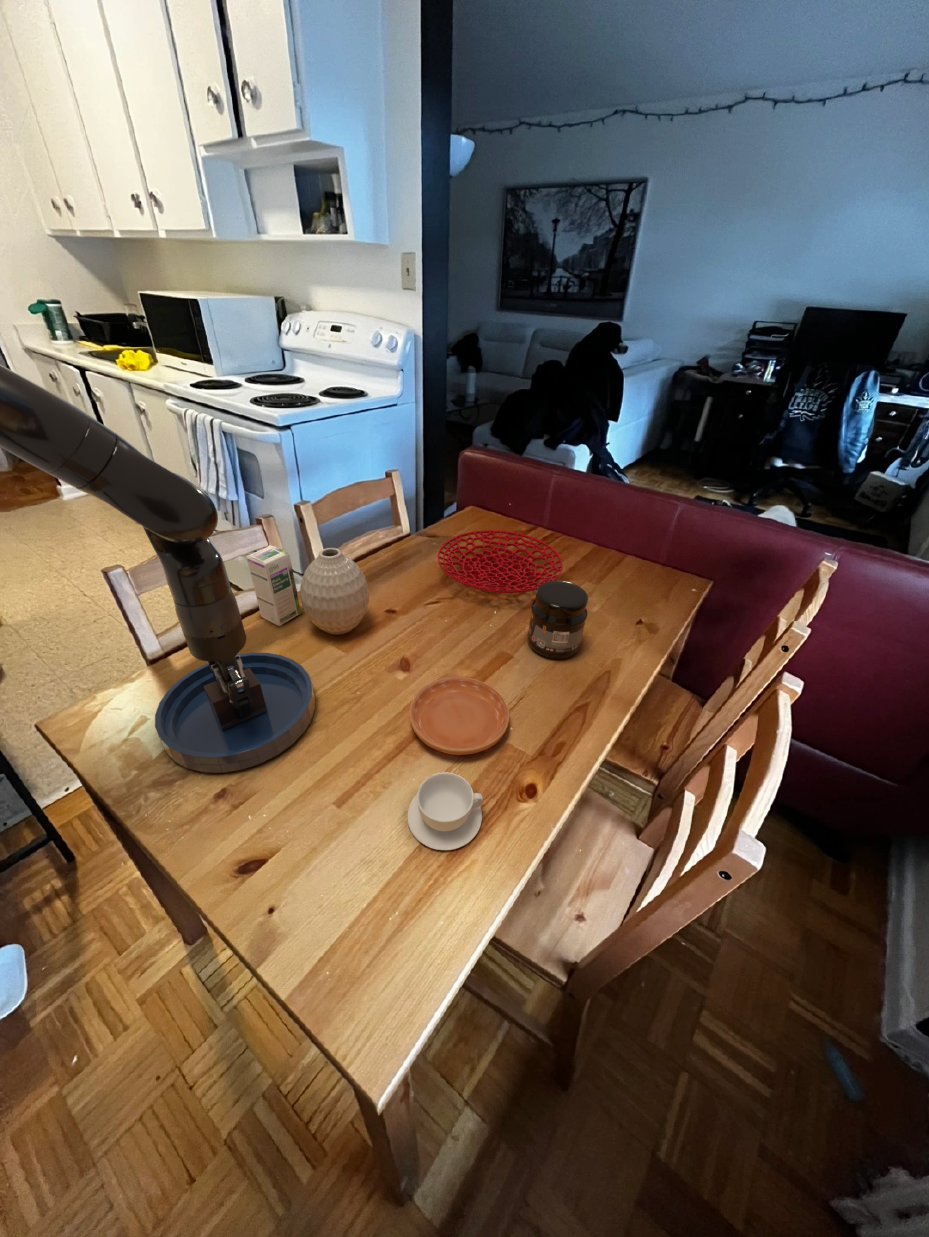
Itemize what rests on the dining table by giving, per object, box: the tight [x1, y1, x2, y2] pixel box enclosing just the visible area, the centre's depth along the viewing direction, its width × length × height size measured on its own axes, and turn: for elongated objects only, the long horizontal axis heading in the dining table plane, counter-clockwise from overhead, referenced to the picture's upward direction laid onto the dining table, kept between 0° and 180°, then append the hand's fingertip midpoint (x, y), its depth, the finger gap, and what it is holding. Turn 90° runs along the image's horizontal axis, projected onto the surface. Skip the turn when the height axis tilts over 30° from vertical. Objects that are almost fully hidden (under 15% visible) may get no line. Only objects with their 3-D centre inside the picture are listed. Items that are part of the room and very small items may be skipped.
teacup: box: [407, 771, 484, 851], centre depth 66 cm, size 10×10×5 cm
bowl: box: [437, 529, 564, 594], centre depth 118 cm, size 29×29×5 cm
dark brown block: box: [204, 668, 267, 730], centre depth 78 cm, size 7×4×6 cm, turn 129°
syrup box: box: [245, 544, 302, 627], centre depth 98 cm, size 6×6×14 cm
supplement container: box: [526, 580, 589, 660], centre depth 95 cm, size 10×10×12 cm
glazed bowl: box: [154, 651, 316, 773], centre depth 79 cm, size 23×23×4 cm
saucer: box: [408, 676, 510, 756], centre depth 80 cm, size 16×16×3 cm
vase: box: [299, 547, 370, 636], centre depth 96 cm, size 13×13×17 cm
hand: (238, 706), depth 79 cm, fingers closed on dark brown block, 4 cm apart
